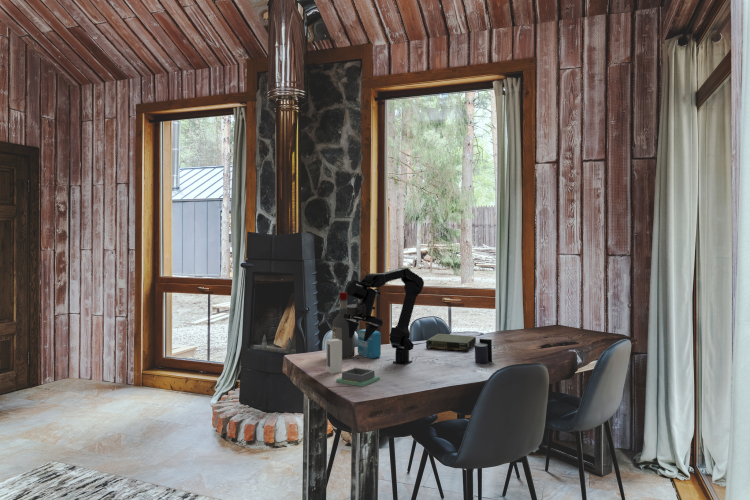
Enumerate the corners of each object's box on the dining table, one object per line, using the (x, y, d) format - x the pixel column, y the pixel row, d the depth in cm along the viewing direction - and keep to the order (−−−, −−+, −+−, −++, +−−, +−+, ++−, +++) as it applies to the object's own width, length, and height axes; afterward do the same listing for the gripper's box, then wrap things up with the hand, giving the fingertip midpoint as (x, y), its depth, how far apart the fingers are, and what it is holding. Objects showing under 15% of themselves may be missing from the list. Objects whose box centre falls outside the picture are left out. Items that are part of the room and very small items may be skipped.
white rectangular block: (337, 369, 204) (337, 338, 204) (341, 372, 200) (341, 340, 200) (326, 371, 202) (326, 339, 202) (331, 373, 198) (330, 341, 198)
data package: (357, 354, 234) (357, 329, 234) (364, 353, 237) (364, 328, 237) (373, 359, 225) (373, 332, 225) (380, 357, 227) (381, 331, 227)
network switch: (424, 350, 245) (424, 340, 245) (433, 342, 268) (433, 332, 268) (471, 353, 238) (471, 343, 238) (476, 344, 261) (476, 335, 261)
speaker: (481, 359, 223) (481, 337, 222) (492, 361, 219) (492, 339, 218) (472, 363, 217) (471, 340, 216) (483, 366, 213) (483, 343, 212)
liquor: (348, 353, 235) (348, 291, 235) (356, 357, 227) (356, 293, 227) (330, 355, 232) (330, 292, 232) (337, 359, 223) (337, 293, 223)
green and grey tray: (354, 375, 196) (354, 366, 196) (379, 379, 189) (379, 370, 189) (336, 382, 186) (336, 372, 186) (362, 386, 179) (362, 377, 179)
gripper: (339, 295, 205) (328, 331, 201) (368, 298, 191) (358, 338, 188) (358, 302, 212) (348, 338, 208) (388, 306, 198) (378, 344, 195)
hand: (357, 339), depth 200 cm, fingers open, 9 cm apart
